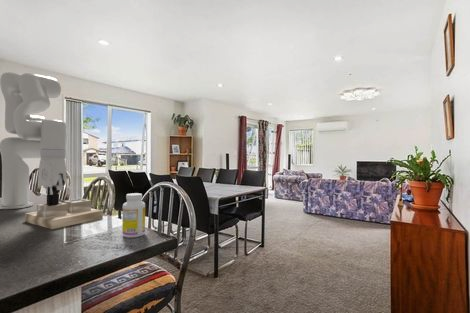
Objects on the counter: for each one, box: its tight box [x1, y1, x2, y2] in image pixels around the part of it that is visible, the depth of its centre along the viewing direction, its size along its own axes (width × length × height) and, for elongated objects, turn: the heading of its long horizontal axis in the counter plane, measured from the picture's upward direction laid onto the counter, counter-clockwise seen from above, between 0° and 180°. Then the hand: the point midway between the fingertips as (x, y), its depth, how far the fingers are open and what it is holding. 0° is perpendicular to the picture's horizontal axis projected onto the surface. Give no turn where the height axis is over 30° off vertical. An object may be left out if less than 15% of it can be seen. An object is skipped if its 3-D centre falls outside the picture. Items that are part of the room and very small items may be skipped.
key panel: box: [24, 198, 104, 230], centre depth 98 cm, size 18×18×7 cm
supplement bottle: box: [121, 192, 146, 239], centre depth 82 cm, size 7×7×13 cm
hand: (52, 205), depth 94 cm, fingers closed
